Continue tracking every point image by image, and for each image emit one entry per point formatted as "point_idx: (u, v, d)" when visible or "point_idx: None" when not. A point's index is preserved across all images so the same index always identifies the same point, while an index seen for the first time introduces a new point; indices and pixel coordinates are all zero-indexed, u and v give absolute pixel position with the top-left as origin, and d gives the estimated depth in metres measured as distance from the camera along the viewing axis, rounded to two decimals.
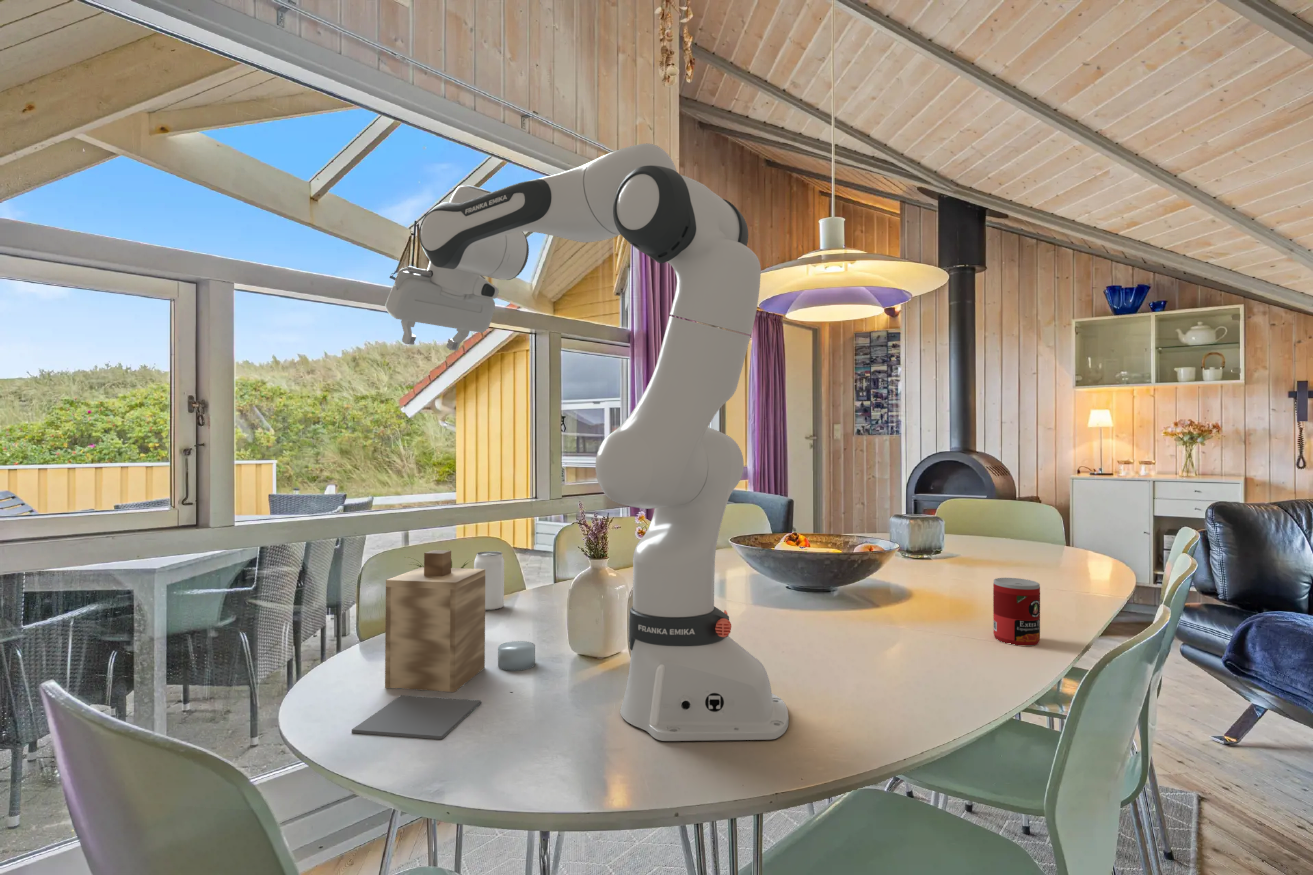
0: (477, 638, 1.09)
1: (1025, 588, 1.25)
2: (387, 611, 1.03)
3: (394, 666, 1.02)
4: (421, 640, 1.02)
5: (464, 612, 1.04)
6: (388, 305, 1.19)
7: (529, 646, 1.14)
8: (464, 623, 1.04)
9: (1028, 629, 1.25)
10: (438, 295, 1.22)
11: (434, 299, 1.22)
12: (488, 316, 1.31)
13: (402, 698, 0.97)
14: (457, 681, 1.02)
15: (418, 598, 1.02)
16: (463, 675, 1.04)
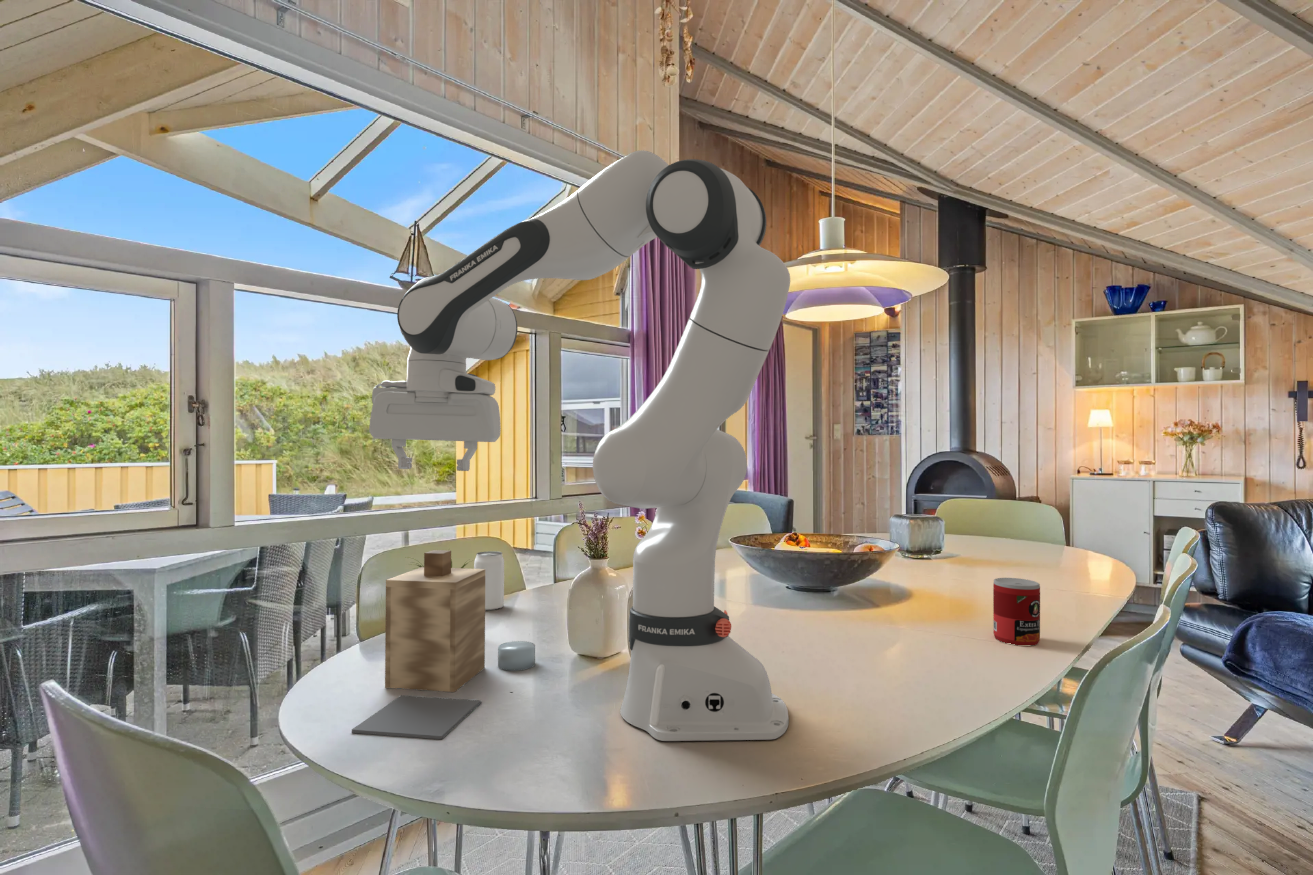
0: (477, 638, 1.09)
1: (1025, 588, 1.25)
2: (387, 611, 1.03)
3: (394, 666, 1.02)
4: (421, 640, 1.02)
5: (464, 612, 1.04)
6: None
7: (529, 646, 1.14)
8: (464, 623, 1.04)
9: (1028, 629, 1.25)
10: (414, 403, 1.07)
11: (411, 409, 1.07)
12: (485, 418, 1.06)
13: (402, 698, 0.97)
14: (457, 681, 1.02)
15: (418, 598, 1.02)
16: (463, 675, 1.04)
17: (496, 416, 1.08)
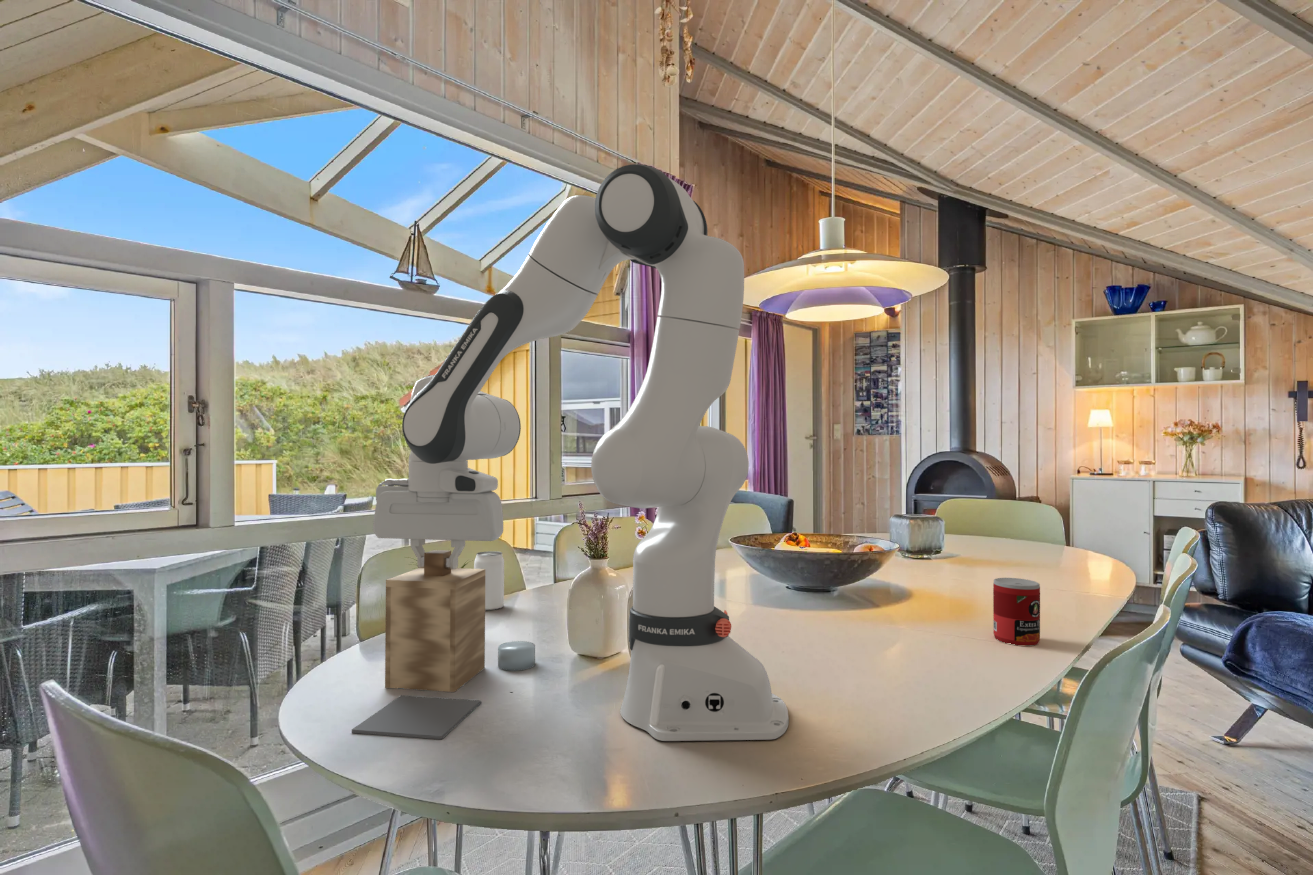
0: (477, 638, 1.09)
1: (1025, 588, 1.25)
2: (387, 611, 1.03)
3: (394, 666, 1.02)
4: (421, 640, 1.02)
5: (464, 612, 1.04)
6: None
7: (529, 646, 1.14)
8: (464, 623, 1.04)
9: (1028, 629, 1.25)
10: (416, 503, 1.06)
11: (414, 508, 1.06)
12: (486, 517, 1.04)
13: (402, 698, 0.97)
14: (457, 681, 1.02)
15: (418, 598, 1.02)
16: (463, 675, 1.04)
17: (498, 513, 1.06)
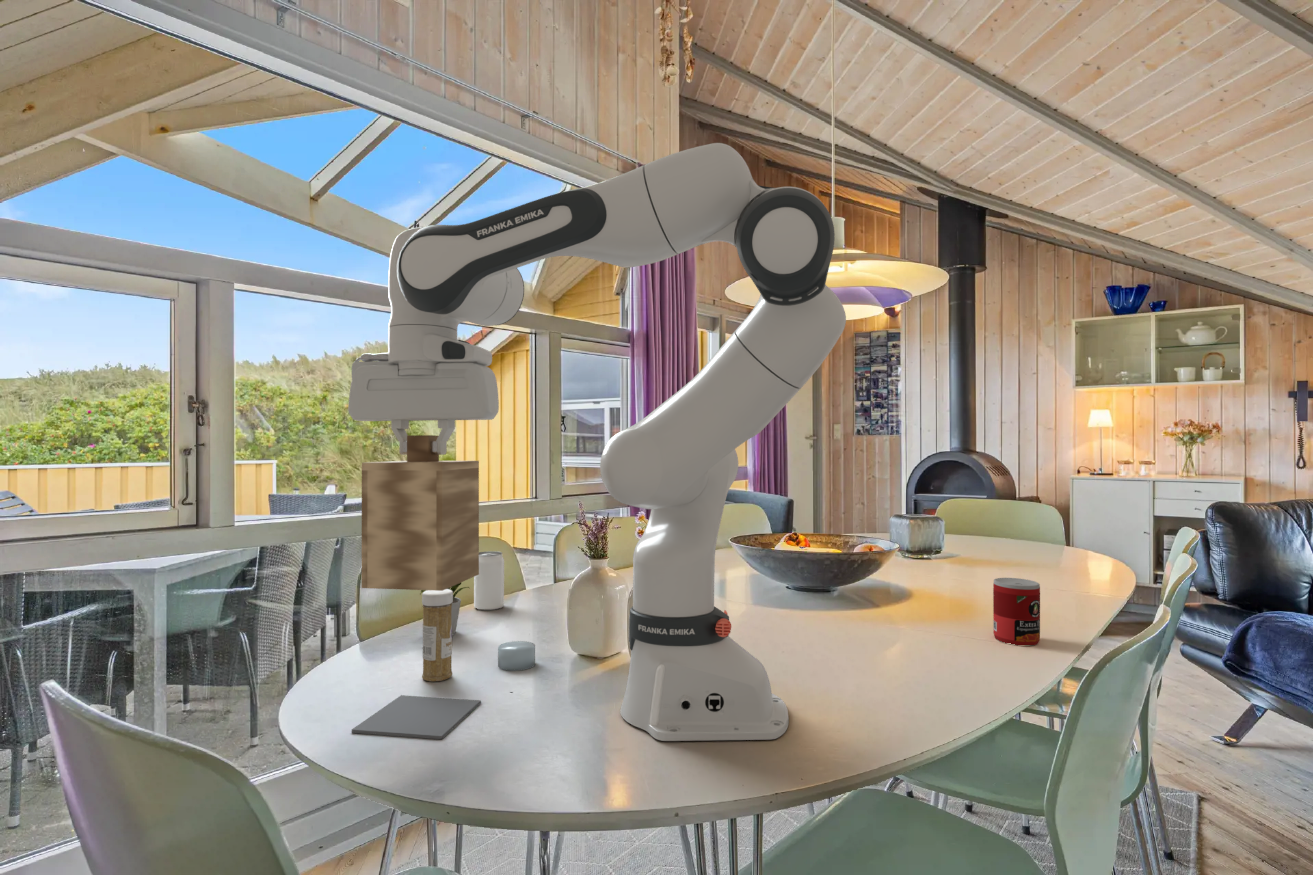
0: (469, 537, 0.94)
1: (1025, 588, 1.25)
2: (363, 499, 0.88)
3: (372, 563, 0.88)
4: (403, 531, 0.87)
5: (453, 501, 0.89)
6: None
7: (529, 646, 1.14)
8: (453, 514, 0.89)
9: (1028, 629, 1.25)
10: (397, 377, 0.92)
11: (395, 384, 0.92)
12: (478, 390, 0.89)
13: (402, 698, 0.97)
14: (445, 579, 0.87)
15: (399, 482, 0.87)
16: (453, 574, 0.89)
17: (492, 389, 0.91)
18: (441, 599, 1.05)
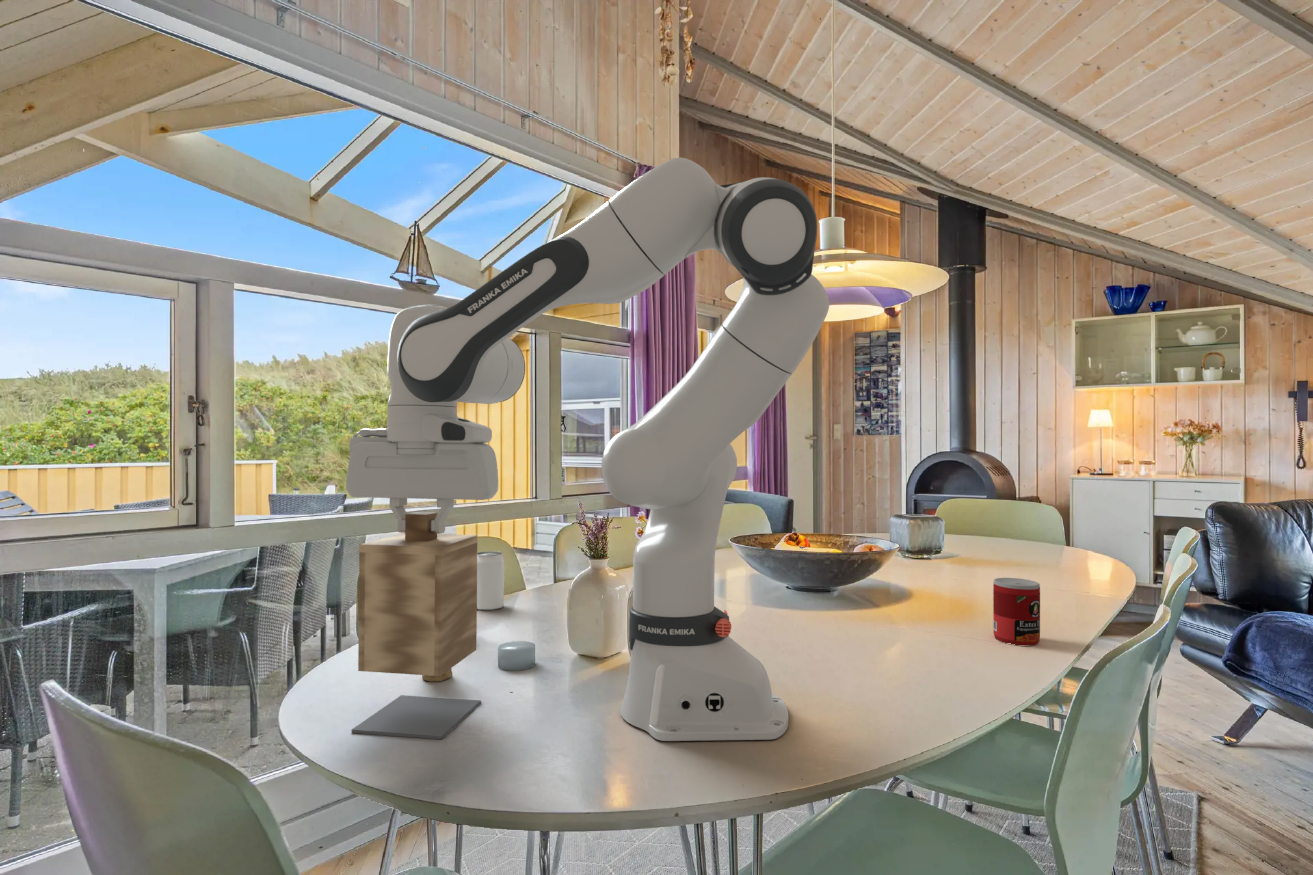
0: (467, 615, 0.93)
1: (1025, 588, 1.25)
2: (361, 581, 0.87)
3: (369, 646, 0.87)
4: (401, 615, 0.86)
5: (451, 583, 0.89)
6: None
7: (529, 646, 1.14)
8: (451, 595, 0.89)
9: (1028, 629, 1.25)
10: (396, 455, 0.91)
11: (393, 462, 0.91)
12: (478, 472, 0.89)
13: (402, 698, 0.97)
14: (443, 663, 0.86)
15: (397, 566, 0.87)
16: (450, 657, 0.88)
17: (492, 468, 0.91)
18: None
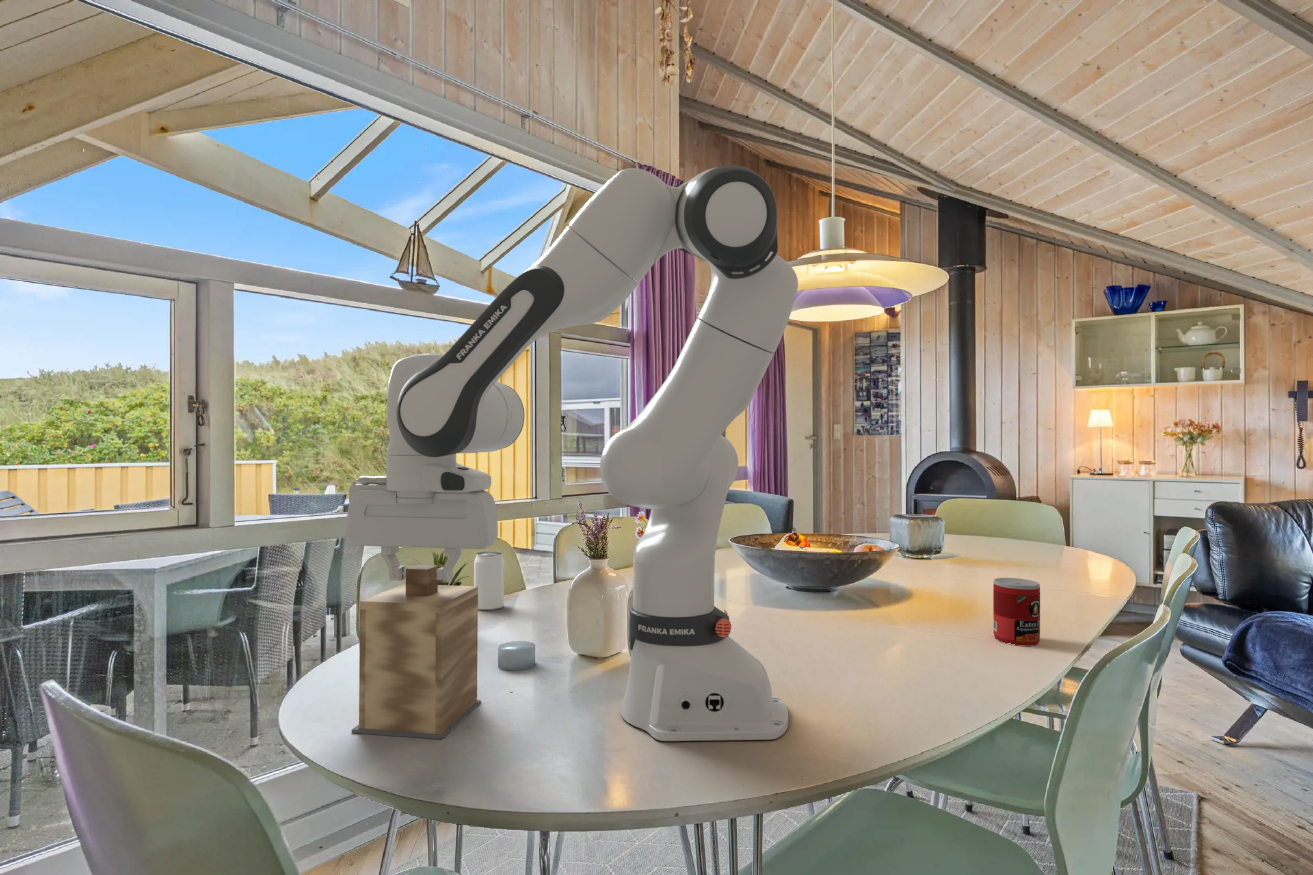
0: (468, 668, 0.93)
1: (1025, 588, 1.25)
2: (361, 638, 0.87)
3: (370, 703, 0.87)
4: (402, 672, 0.86)
5: (452, 639, 0.89)
6: None
7: (529, 646, 1.14)
8: (452, 651, 0.89)
9: (1028, 629, 1.25)
10: (395, 504, 0.91)
11: (393, 511, 0.91)
12: (477, 521, 0.89)
13: None
14: (444, 721, 0.86)
15: (398, 623, 0.86)
16: (451, 713, 0.88)
17: (491, 517, 0.90)
18: None
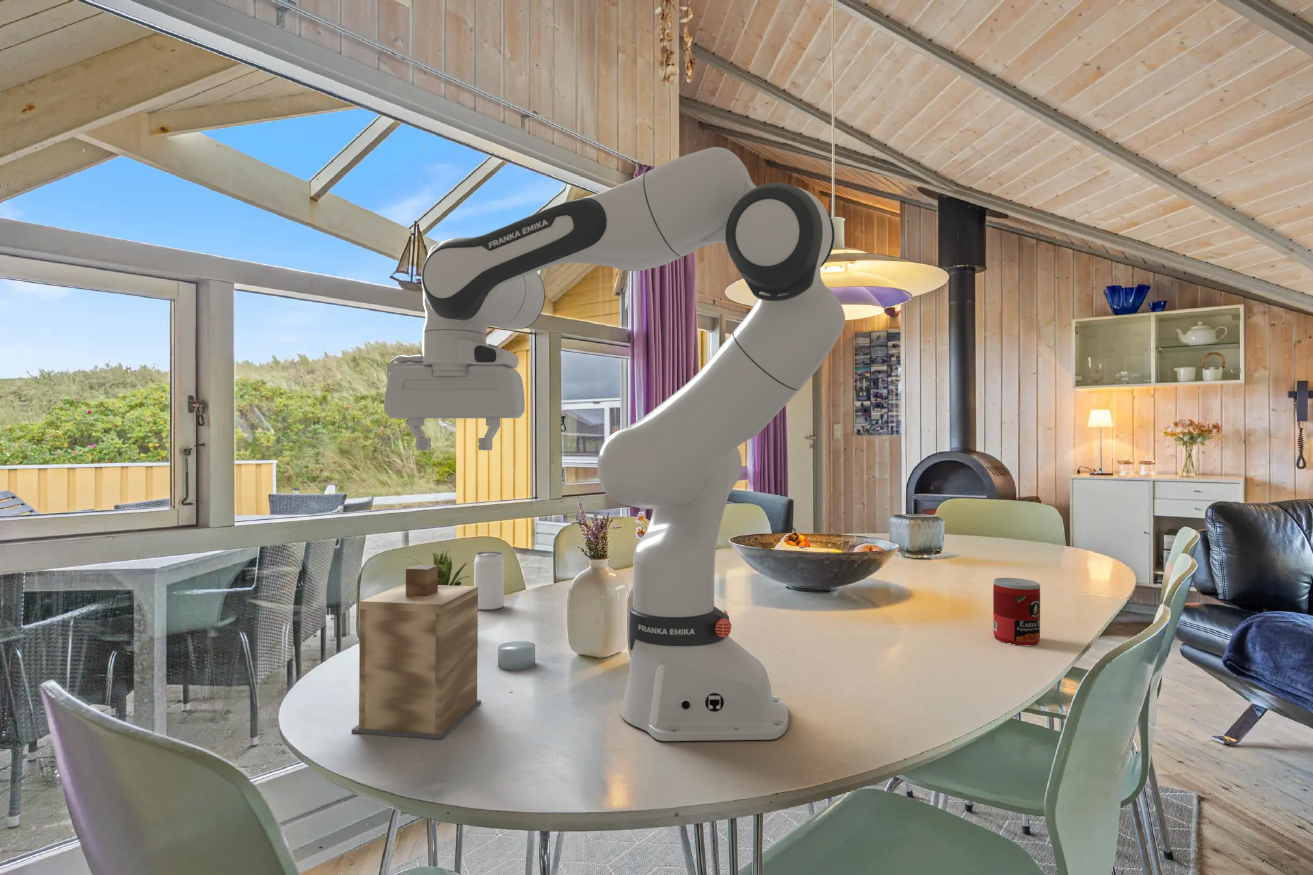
0: (468, 668, 0.93)
1: (1025, 588, 1.25)
2: (361, 638, 0.87)
3: (370, 703, 0.87)
4: (402, 672, 0.86)
5: (452, 639, 0.89)
6: None
7: (529, 646, 1.14)
8: (452, 651, 0.89)
9: (1028, 629, 1.25)
10: (431, 378, 0.99)
11: (429, 385, 0.99)
12: (507, 391, 0.97)
13: None
14: (444, 721, 0.86)
15: (398, 623, 0.86)
16: (451, 713, 0.88)
17: (519, 390, 0.99)
18: None
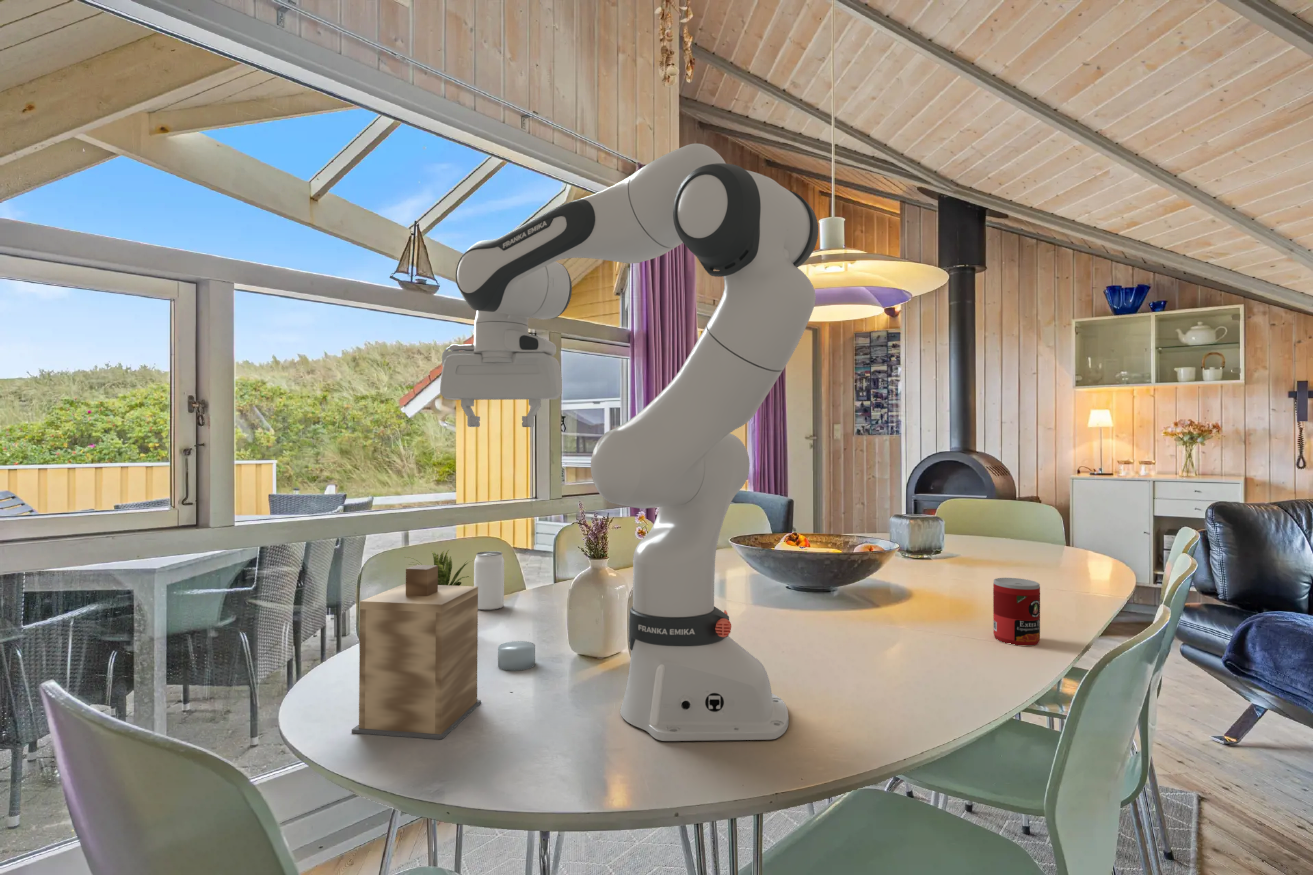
0: (468, 668, 0.93)
1: (1025, 588, 1.25)
2: (361, 638, 0.87)
3: (370, 703, 0.87)
4: (402, 672, 0.86)
5: (452, 639, 0.89)
6: None
7: (529, 646, 1.14)
8: (452, 651, 0.89)
9: (1028, 629, 1.25)
10: (481, 364, 1.13)
11: (479, 370, 1.14)
12: (548, 375, 1.11)
13: None
14: (444, 721, 0.86)
15: (398, 623, 0.86)
16: (451, 713, 0.88)
17: (558, 374, 1.13)
18: None
